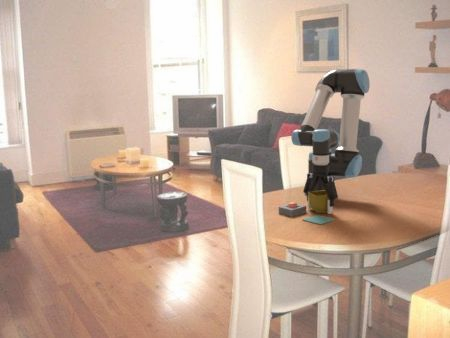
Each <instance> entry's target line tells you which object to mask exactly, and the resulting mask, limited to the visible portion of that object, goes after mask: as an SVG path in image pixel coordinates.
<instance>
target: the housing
mask: <svg viewBox="0 0 450 338" xmlns="http://www.w3.org/2000/svg"><path fill="white" fill-rule="evenodd" d="M305 213H307V205H304V204H300V203H297V207H296V208H290V207H288V203H287V204H284V205H280V206H278V214H280V215H285V216H287V217H297V216H298V215H301V214H302V215H303V214H305Z"/></svg>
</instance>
